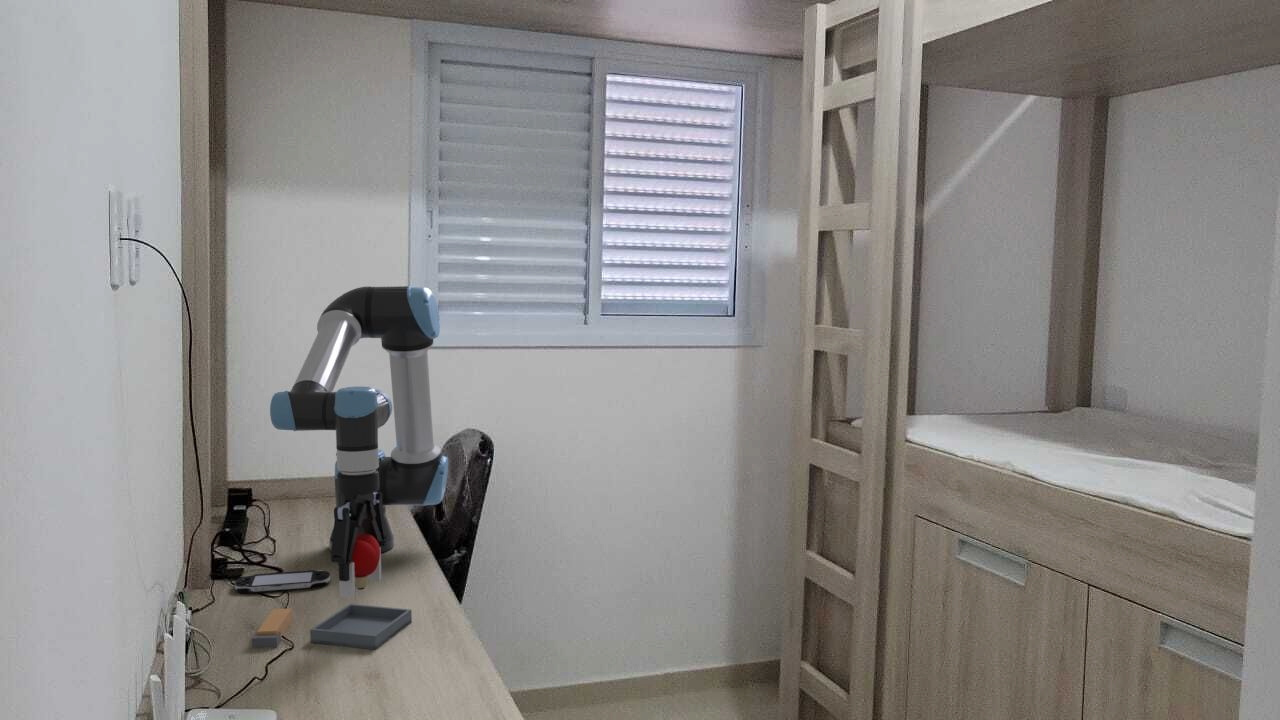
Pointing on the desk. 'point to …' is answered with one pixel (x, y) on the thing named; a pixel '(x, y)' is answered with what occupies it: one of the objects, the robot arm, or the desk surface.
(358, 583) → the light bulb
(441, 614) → the desk surface
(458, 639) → the desk surface
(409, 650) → the desk surface
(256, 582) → the gaming console
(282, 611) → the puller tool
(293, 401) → the robot arm
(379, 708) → the desk surface
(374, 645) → the parts tray
